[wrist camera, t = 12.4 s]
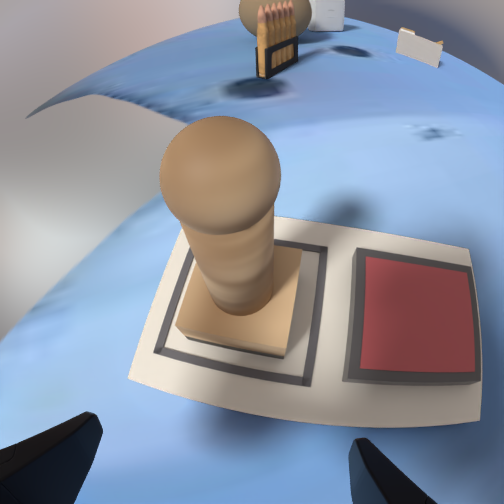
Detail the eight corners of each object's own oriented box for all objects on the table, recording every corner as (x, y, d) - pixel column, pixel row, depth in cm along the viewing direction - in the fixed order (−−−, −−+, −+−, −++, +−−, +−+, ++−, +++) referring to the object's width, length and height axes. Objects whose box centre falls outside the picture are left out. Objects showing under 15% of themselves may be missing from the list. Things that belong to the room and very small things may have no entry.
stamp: (298, 272, 18) (322, 89, 8) (283, 359, 15) (312, 220, 5) (213, 258, 19) (163, 86, 9) (188, 339, 16) (73, 195, 6)
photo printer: (314, 32, 55) (314, -10, 44) (304, 29, 57) (305, -11, 46) (345, 32, 56) (348, -7, 46) (335, 28, 59) (337, -9, 48)
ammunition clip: (266, 79, 37) (263, 5, 27) (256, 77, 37) (251, 5, 27) (298, 61, 41) (298, 0, 31) (288, 59, 42) (288, -1, 32)
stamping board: (460, 259, 19) (469, 248, 18) (467, 422, 12) (480, 420, 11) (195, 218, 23) (191, 205, 21) (137, 382, 16) (126, 378, 14)
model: (396, 51, 50) (400, 25, 44) (436, 66, 47) (442, 40, 40) (395, 53, 49) (399, 26, 42) (437, 69, 45) (443, 42, 39)
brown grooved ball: (324, 46, 47) (327, -16, 34) (260, 53, 44) (256, -17, 32) (288, 31, 55) (287, -20, 42) (231, 39, 52) (225, -18, 39)
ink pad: (463, 275, 17) (471, 266, 16) (469, 384, 13) (481, 380, 11) (351, 257, 18) (356, 246, 17) (341, 381, 14) (347, 378, 13)
